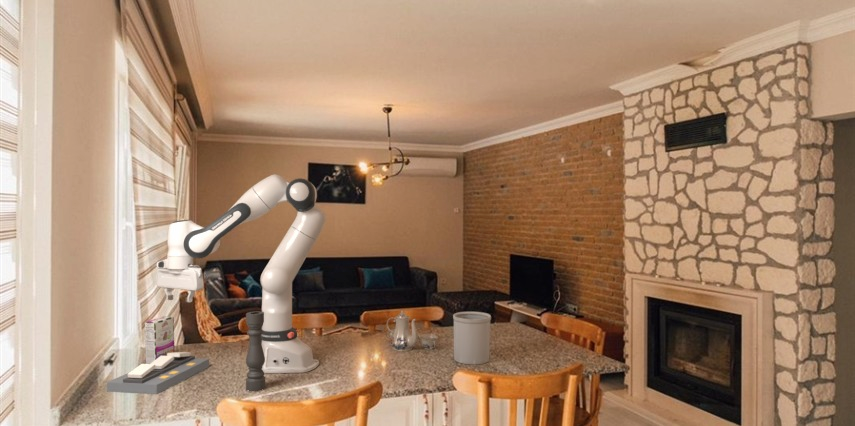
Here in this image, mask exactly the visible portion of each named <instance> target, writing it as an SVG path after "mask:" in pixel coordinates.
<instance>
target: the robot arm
mask: <svg viewBox="0 0 855 426" xmlns="http://www.w3.org/2000/svg"><path fill="white" fill-rule="evenodd" d="M317 201H318V192H317V189H316V187H315V185H314V184H313V183H312V182H311V181H309V179H305V178H300V177H299V178H295V179H293V180H291V181H290V182H288V181H287V180H286V179H285V178H284V177H283V176H282V175H280V174H275V173H274V174H271V175H269V176H266V177H265V178H263V179H261V180H259V181H258V182H257V183H255V184H254V185H253V186H252V187H250V188H249V189H248V190H246V191H245V192H244V193H243V194H242V195H241V197H240V198H238V199H237V201H236V202H235V203H234V204H233V205H232V206H231V207H230V208H229V209H228V210H227V211H226V212H224V213H223V214H222V215H221V216H219V217H218V218H216V219H215V220H214V221H211V223H210V224H208V225H207V226H205V227H204V226H201V225H199V224H197V223H195V222H194V221H193V220H192V219H182V220H177V221H173V222H171V223H170V224H169V226H168V232H167V240H166V241H167V247H168V248H167V249H168V250H167V254H166V258H165V259H163V260H159V261H157V262H156V268H157V269H156V273H155V284H156V286H157V287H158V288H162V289H164V290H163V291H164V293H165V294H166V300H167V301H172V300H174V294H172V290H174V289H175V290H185V291H187V294H188V295H187V297H186V296H185V302H186V303H192V302H193V297H194V295H195V294H196V292H197V291H202V290H203V288H204V276H203V269H202V268H201V266H200V265H198V264H194V259H203V258H206V257H208V256H209V255H211V254H213V253H215V252H216V251H218V250H219V249H220V247H221V244H222V238H224V237H225V236H227V234H229V233H230V232H232V230H234V229H235V228H236V227H238V226H240V225H242V224H245V223H247V222H251V221H255V220H257V219H259V218H261V217H263V216H265V215H266V214H267V213H269V212H270V211H272V210H273V209H274V208H275V207H277V205H280V204H281V203H283V202H284V203H285V202H287V203H289V204H290V205H291V206H292V207H293V208H294V209H295V210H296V212H297V214H296V217H295V219H294V221H293V222H292V224H290V225H291V226H290V227H289V228H288V230H287V232H286V234H285V235H284V236H283V238H282V239H281V241H280V243H279V244H278V246H277V248H276V249H275V251H274V253H273V254H272V256H271V257H270V259H269V261H268V263H267V264H266V266H265V267H264V269H263V271H262V273H261V275H260V279H259V281H260V286H261V288H262V290H261V293H262V295H261V296H262V297H261V312H264V323H263V326H262V328H261V329H262V330H263V333H262V335H261V344H262V348H263V352H264V356H265V363H264V365H263V366H262V370H263V372H264V374H283V373H285V374H290V373H292V374H293V373H294V374H295V373H307V372H311V371H313V370H314V369H316V368H317V367H318V366H319V365H320V361H319V359H315V358H314V356H313V350H312V348H311V347H310V346H309V345H308V344H306V343H305V342H303V340H301V339H300V338H299V337H298V333H299V328H298V329H295V328H294V327H293V282H294V280H295V278H296V276H297V274H299V271H300V269H301V267H302V266H303V264H304V262H305V260H306V258H307V257H308V255H309V253H310V252H311V250H312V249H313V247H314V245H315V244H316V242H317V240H318V239H319V237H320V235H321V233H322V231H323V229H324V227H325V224H326V222H327V216H326V214H325V212H324V211H323V209H321V208H320V207H318V205H317V204H316V203H317Z"/></svg>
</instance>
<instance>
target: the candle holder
mask: <svg viewBox="0 0 855 426" xmlns="http://www.w3.org/2000/svg"><path fill="white" fill-rule="evenodd" d="M245 317H246V318H245V323H246V326H247V328H248V330H247V331H246V334H247V335H248V340H249V341H248V343H249V344H248V347H247V348H248V350H247V354H246V358H245V365H246V367H248V372H247V373H246V379H245V391H247V390H249V391H248V392H250V391H255V392H259V391H258V390H261V391H263V390H265V389H266V376H265V373H264V372H263V370H262V366H263V365H264V363H265V356H264V352H263V348H262V344H261V335H262V333H263V330H262V326H263V323H264V312H262V311H260V310H259V311H249V312H248V311H247V313H245ZM264 388H265V389H264ZM262 389H263V390H262Z"/></svg>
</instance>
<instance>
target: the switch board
mask: <svg viewBox="0 0 855 426" xmlns="http://www.w3.org/2000/svg"><path fill="white" fill-rule="evenodd" d="M209 367H210V359H209V358H196V355H191V356H184V357H174V360H173V361H171V362H170V363H169V364H168V365H166V366H165V367H164V368H162V369H153V370H152V371H150V372H149V373H148V374H147V375H145V376H144V377H143V378H129V377H128V373H129V372H128V373H125V374H123V375H121V376H118V377H116V378H113V379H111V380H109V381H107V382H106V392H111V393H113V392H114V393H128V394H129V393H130V394H143V395H144V394H148V395H149V394H150V395H158V394H159V393H162V392H164V391H165V390H168V389H169V388H172V387H174V386H176V385H177V384H179V383H181V382H183V381H186V380H187V379H189V378H190V377H194V376H195V375H197V374H199V373H200V372H202V371H204V370H206V369H207V368H208V369H209Z"/></svg>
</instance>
